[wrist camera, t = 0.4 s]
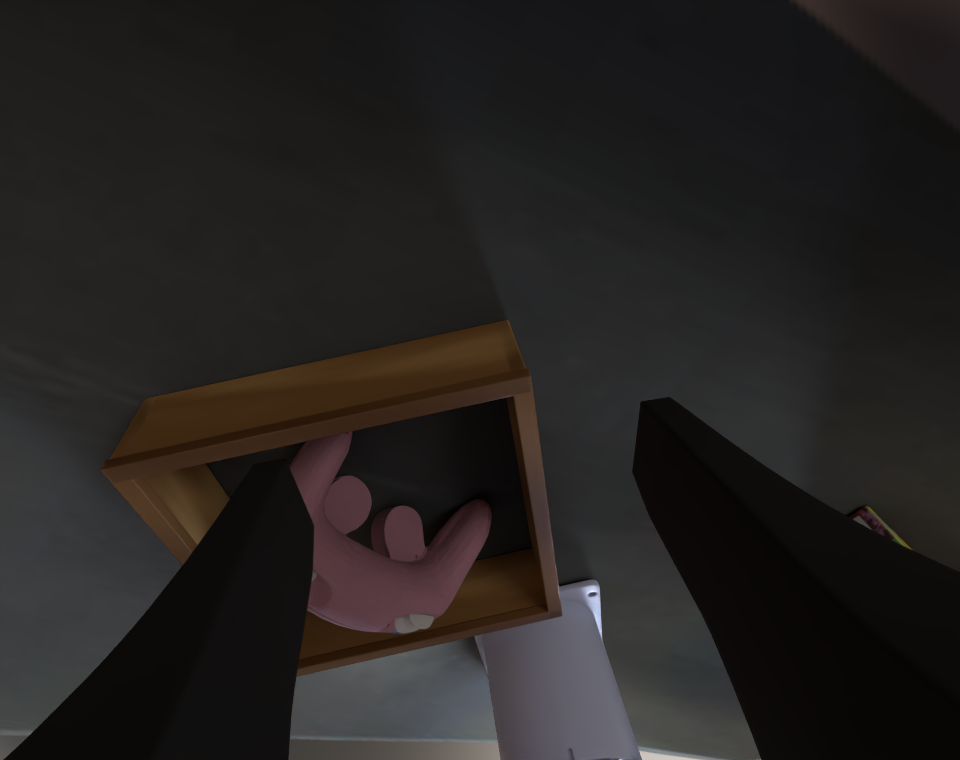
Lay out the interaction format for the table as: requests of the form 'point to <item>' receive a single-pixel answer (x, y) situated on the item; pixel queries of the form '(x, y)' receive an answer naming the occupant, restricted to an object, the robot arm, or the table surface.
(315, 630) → the wooden frame
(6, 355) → the table surface
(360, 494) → the video game controller
